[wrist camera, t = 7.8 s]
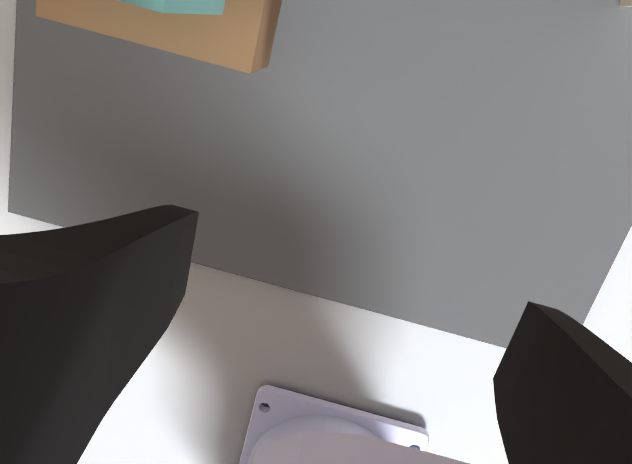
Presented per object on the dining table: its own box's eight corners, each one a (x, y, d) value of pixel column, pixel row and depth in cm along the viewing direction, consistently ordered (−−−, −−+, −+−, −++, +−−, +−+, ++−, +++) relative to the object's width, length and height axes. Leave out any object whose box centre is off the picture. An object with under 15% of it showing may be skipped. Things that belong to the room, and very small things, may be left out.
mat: (561, 359, 24) (563, 363, 23) (12, 209, 24) (8, 211, 24) (838, -207, 16) (847, -211, 16) (40, -413, 16) (34, -420, 16)
